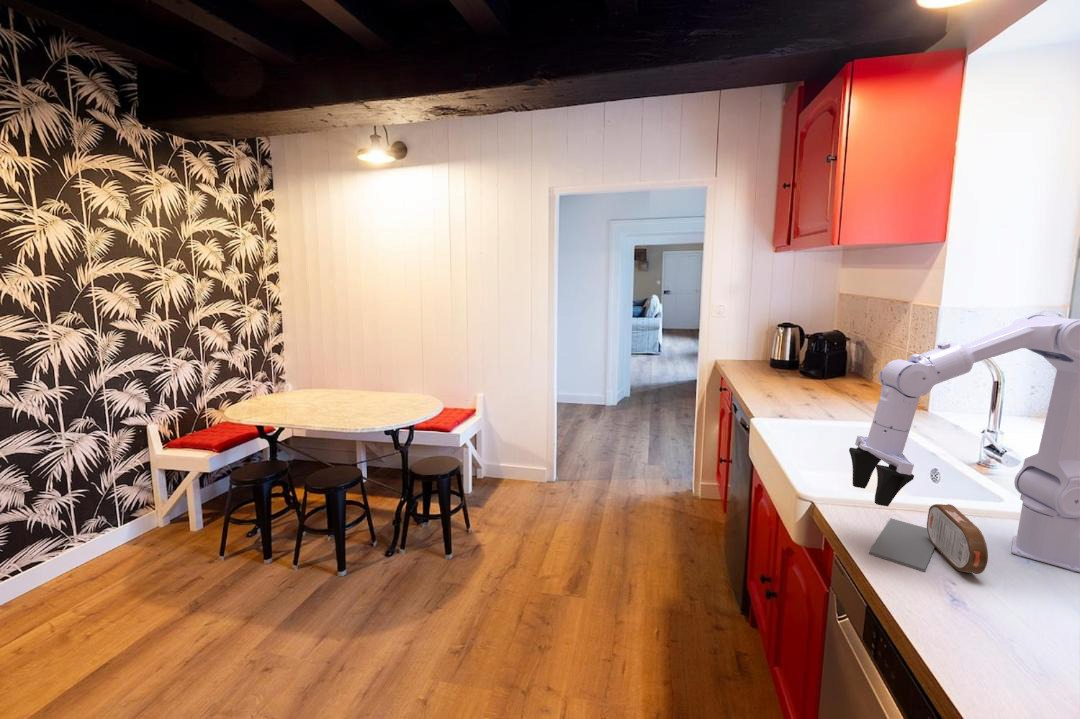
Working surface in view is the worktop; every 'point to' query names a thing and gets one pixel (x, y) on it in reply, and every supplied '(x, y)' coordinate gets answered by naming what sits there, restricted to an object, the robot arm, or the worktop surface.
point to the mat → (904, 544)
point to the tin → (957, 538)
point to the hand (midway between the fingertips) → (869, 495)
